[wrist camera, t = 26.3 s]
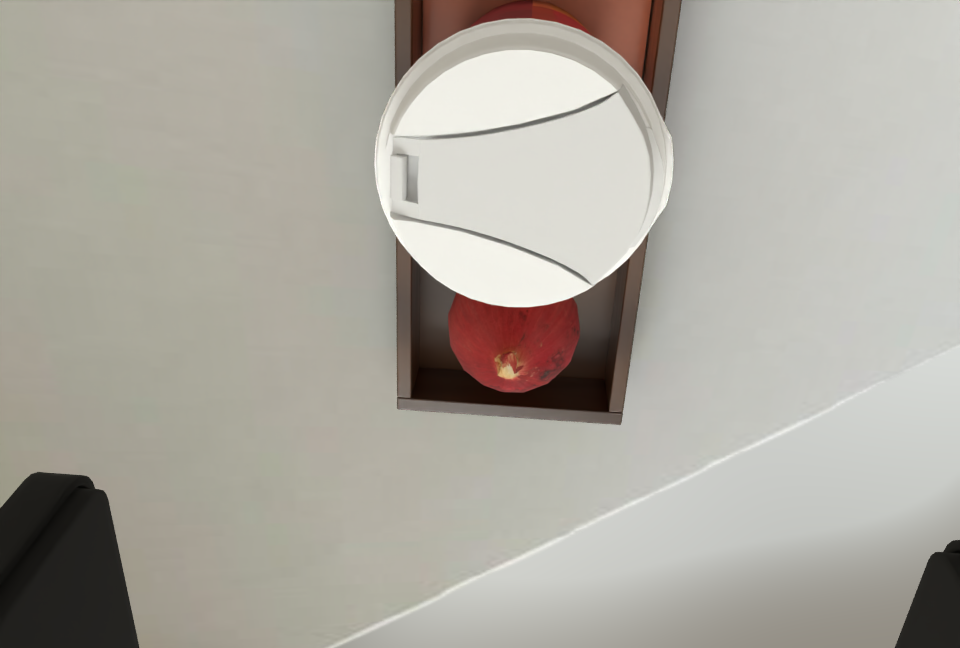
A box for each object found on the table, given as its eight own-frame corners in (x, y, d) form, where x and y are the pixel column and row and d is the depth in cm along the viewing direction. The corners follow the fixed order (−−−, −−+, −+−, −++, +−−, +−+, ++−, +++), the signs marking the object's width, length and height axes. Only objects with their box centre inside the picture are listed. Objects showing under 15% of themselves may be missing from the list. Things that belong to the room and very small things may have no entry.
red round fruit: (601, 285, 40) (614, 371, 33) (522, 363, 43) (518, 458, 36) (509, 209, 39) (502, 282, 32) (432, 293, 41) (409, 379, 34)
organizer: (407, -71, 34) (393, -66, 31) (675, -58, 34) (689, -51, 31) (407, 371, 44) (397, 409, 41) (615, 385, 44) (621, 425, 40)
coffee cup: (427, 161, 38) (366, 313, 25) (433, -38, 34) (363, 15, 21) (615, 175, 38) (655, 336, 24) (642, -24, 34) (706, 38, 20)
